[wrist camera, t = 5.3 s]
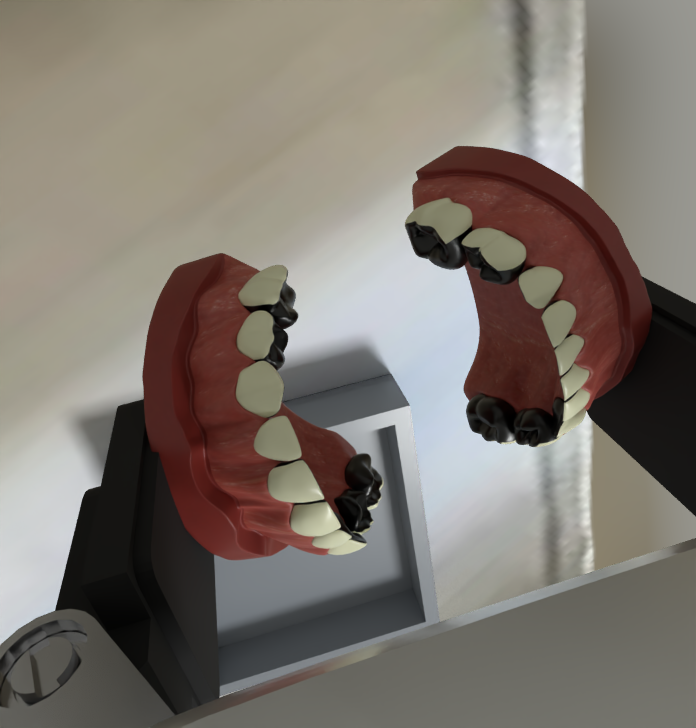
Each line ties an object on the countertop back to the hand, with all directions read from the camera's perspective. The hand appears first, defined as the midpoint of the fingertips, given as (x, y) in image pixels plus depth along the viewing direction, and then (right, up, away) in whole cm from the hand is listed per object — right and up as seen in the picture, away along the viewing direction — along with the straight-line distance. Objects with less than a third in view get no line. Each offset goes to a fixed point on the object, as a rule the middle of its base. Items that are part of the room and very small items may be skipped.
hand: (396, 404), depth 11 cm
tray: (-4, -8, +20) cm, 22 cm away
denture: (-1, +2, +1) cm, 2 cm away
